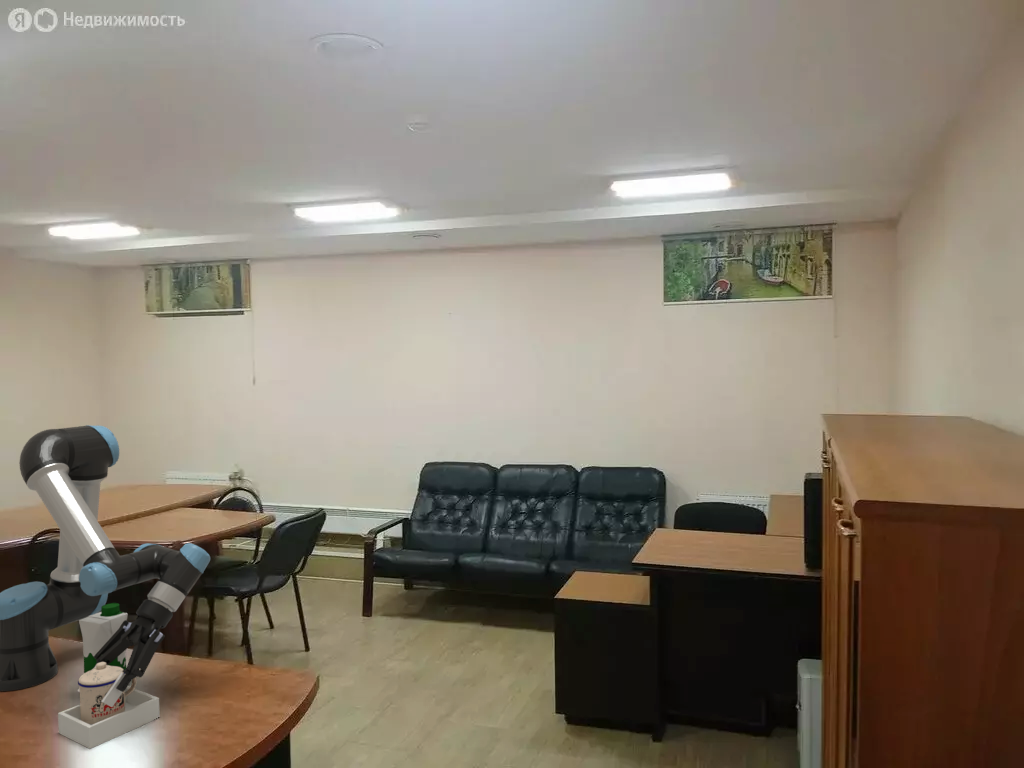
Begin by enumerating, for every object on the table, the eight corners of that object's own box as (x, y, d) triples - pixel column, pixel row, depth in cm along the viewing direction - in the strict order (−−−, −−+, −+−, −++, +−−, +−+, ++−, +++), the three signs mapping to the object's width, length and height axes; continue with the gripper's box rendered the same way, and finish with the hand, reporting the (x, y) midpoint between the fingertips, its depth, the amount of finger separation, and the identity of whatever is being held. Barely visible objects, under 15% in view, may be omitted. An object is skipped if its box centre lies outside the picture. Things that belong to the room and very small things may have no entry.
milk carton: (134, 682, 186) (131, 604, 185) (102, 698, 178) (99, 616, 177) (109, 677, 190) (106, 600, 189) (76, 692, 181) (73, 612, 180)
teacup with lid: (91, 729, 157) (88, 675, 156) (72, 717, 162) (69, 665, 162) (147, 707, 166) (145, 656, 166) (127, 696, 172) (125, 647, 171)
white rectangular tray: (58, 733, 161) (58, 713, 161) (128, 704, 174) (127, 685, 174) (89, 748, 155) (89, 727, 154) (159, 717, 168) (159, 698, 168)
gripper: (198, 621, 171) (134, 718, 158) (144, 605, 183) (81, 694, 170) (177, 605, 166) (109, 704, 153) (122, 590, 178) (55, 680, 165)
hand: (94, 699), depth 162 cm, fingers closed on teacup with lid, 9 cm apart
